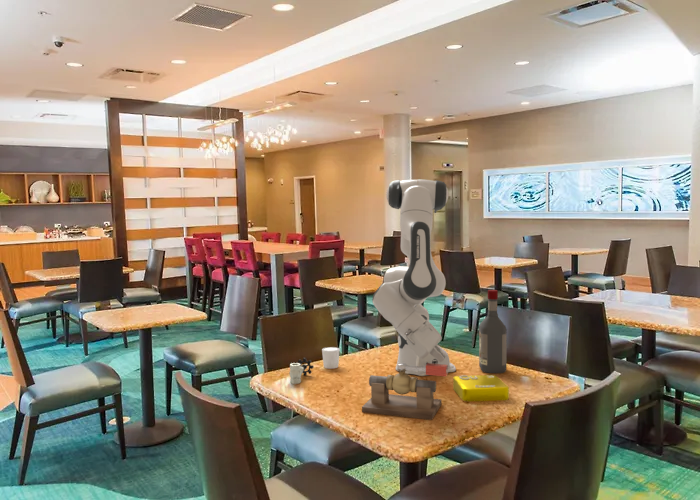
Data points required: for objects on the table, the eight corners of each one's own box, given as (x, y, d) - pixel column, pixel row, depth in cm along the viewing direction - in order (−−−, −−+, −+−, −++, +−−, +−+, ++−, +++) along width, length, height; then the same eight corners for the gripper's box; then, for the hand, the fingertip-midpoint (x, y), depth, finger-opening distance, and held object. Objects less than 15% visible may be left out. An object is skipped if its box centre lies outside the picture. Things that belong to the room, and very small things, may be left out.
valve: (302, 385, 192) (313, 375, 204) (301, 366, 192) (313, 357, 203) (284, 383, 194) (297, 374, 205) (284, 365, 193) (296, 356, 205)
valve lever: (447, 374, 163) (447, 364, 163) (445, 376, 160) (445, 367, 160) (398, 369, 168) (398, 360, 168) (395, 372, 166) (395, 363, 165)
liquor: (502, 367, 212) (502, 288, 210) (507, 373, 202) (507, 292, 201) (478, 366, 212) (478, 289, 211) (482, 373, 203) (482, 292, 202)
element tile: (463, 403, 172) (463, 387, 172) (451, 388, 187) (451, 374, 187) (510, 401, 173) (510, 386, 173) (495, 387, 188) (495, 373, 188)
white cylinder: (326, 369, 211) (326, 351, 210) (319, 365, 217) (319, 348, 216) (342, 367, 214) (342, 349, 213) (335, 363, 220) (334, 346, 220)
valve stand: (376, 397, 177) (375, 362, 177) (441, 404, 170) (441, 367, 169) (361, 411, 164) (361, 374, 164) (431, 419, 157) (431, 380, 156)
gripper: (410, 326, 163) (444, 361, 161) (426, 314, 182) (456, 345, 180) (396, 340, 165) (429, 375, 162) (413, 326, 184) (442, 357, 182)
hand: (443, 359), depth 171 cm, fingers closed
